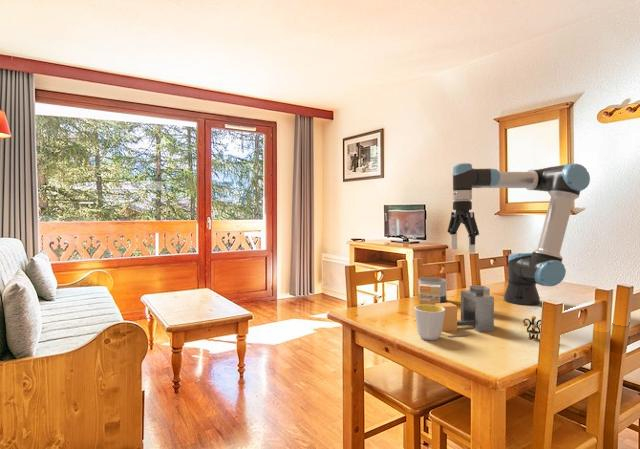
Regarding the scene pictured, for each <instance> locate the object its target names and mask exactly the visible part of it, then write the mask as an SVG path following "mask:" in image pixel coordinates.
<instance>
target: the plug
mask: <svg viewBox="0 0 640 449" xmlns="http://www.w3.org/2000/svg"><path fill="white" fill-rule="evenodd" d="M435 305H437V306H441V307H443V308H445V315H444V321H443V327H442V332H451V331H453V332H454V331H458V327H460V326H461V327H462V326H474V325H475V320H472V321H461V320H459V321H458V305H456V304H454V303H452V302H441V303H435Z"/></svg>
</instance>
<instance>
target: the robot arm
mask: <svg viewBox="0 0 640 449" xmlns="http://www.w3.org/2000/svg"><path fill="white" fill-rule="evenodd" d="M590 182H591V174H590V173H589V171H588V169H587V168H586V167H585V166H584V165H583V164H579V163H568V164H563V165H561V164H560V165H556V166H555V165H554V166H549V167H544V168H539V169H529V170H527V171H499V170H498V169H497V168H490V167H489V168H473V165H472V164H471V163H466V162H464V163H455V164H454V165H453V167H452V200H453V202H452V210H453V211H451V213H450V220H449V224H448V228H447V231H446V232H447V233H449V235H450V250H458V230H459V228H460V225H461V224H462V225H464V227H465V230H466V232H467V234H468V235H467V253H470V254H473V253H476V237H477V236H480V233H479V228H478V225H477V222H476V218H475V212H474V211H471V210H472V209H473V201H472V199H473V189H526V190H527V191H539V192H546V193H548V194H549V196H550V200H549V204H548V207H547V210H546V211H547V212H546V216H545V219H544V222H543V227H542V229H541V230H542V231H541V233H540V238H539V241H538V244H537V245H538V246H537V248H536V249H535V250H533V251H532V252H527V253H526V252H524V253H522V252H517V253H510V254H509V255H508V258H507V266H508V267H507V268H508V269H507V271H508V272H507V275H508V276H507V286H506V289H505V292H504V294H503V300H504V302H506V303H507V302H508V303H510V304H516V305H521V306H522V305H523V306H524V305H527V306H533V305H539V304H540V303H541V298H540V295H539V292H538V289H537V286H536V284H537V285H539V286H543V287H555V286H557V285H559V284H561V282H562V281H563V280H564V278H565V277H566V272H567V269H566V268H565V265H564V263H563V259H564V258H563V256H562V255H561V249H562V246H563V242H564V238H565V234H566V231H567V228H568V227H567V226H568V223H569V220H570V219H569V218H570V216H571V212H572V208H573V204H574V201H575V200H576V199H578V198H580V194H581V192H582V191H584V190H585V189H586V188H588V187H589V185H590Z"/></svg>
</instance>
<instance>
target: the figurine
mask: <svg viewBox="0 0 640 449" xmlns="http://www.w3.org/2000/svg"><path fill="white" fill-rule="evenodd" d="M536 319H537V317H536V316H535V315H532V316H531V320H530V319H529V318H523V320H522V323H523V324H522V325H523V326H524V327H527V328H526V331H525V332H526V333H528V337H527V338H528V340H532V341H534V340H535V341H539V339H540V338H539V335H540V333H541V331H540V330H541V328H540V325H541V324H542V323H540V322H542V321H541V320H542V319H538V320H537V321H536ZM526 321H528V322H526ZM539 323H540V324H539ZM530 328H531V329H530ZM537 329H538V330H537ZM535 341H534V342H535Z"/></svg>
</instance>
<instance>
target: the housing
mask: <svg viewBox="0 0 640 449" xmlns="http://www.w3.org/2000/svg"><path fill="white" fill-rule="evenodd" d="M494 306H495V296H493V295H491V294H490V295H487V294H485V293H484V289H481V288H479V287H470V290H468V289H466V290H460V321H472V320H475V326H474V327H475V328H474V330H475V331H476V332H478V333H484V332H486V333H487V332H494V330H495V329H494V328H495V327H494V324H495V323H494V322H495V316H494V315H495V307H494Z"/></svg>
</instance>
